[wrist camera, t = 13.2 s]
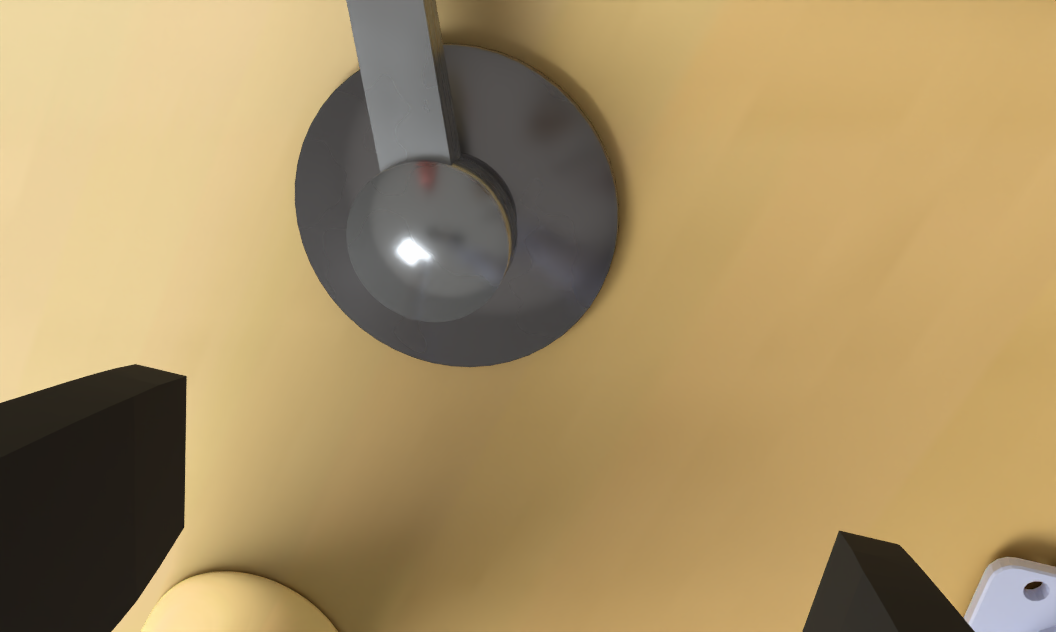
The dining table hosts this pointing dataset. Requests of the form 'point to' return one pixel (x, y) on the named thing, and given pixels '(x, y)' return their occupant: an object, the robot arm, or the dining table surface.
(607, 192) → the crank hub
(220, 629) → the beer glass
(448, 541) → the dining table surface
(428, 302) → the crank
